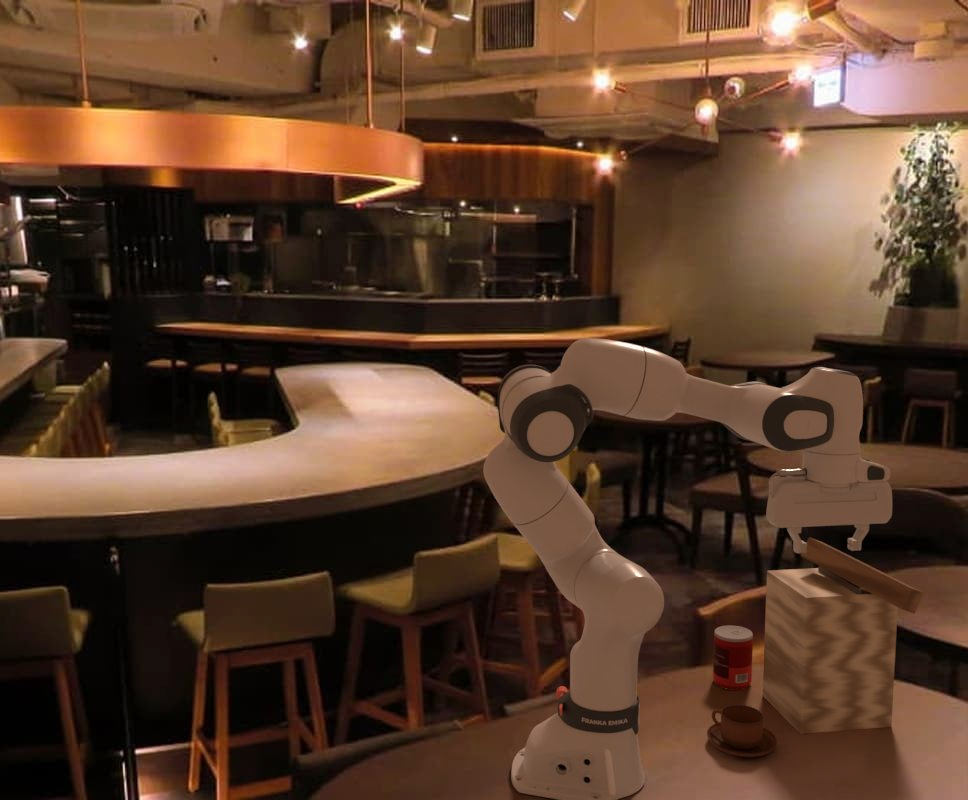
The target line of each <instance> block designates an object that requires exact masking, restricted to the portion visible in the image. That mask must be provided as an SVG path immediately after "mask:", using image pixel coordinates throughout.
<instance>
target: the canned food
mask: <svg viewBox="0 0 968 800" xmlns="http://www.w3.org/2000/svg"><path fill="white" fill-rule="evenodd" d="M753 639H754V634H753V632H752V630H751V629H749V628H747V627H743V626H741V625H730V624H729V625H728V624H727V625H721V626H717V627H716V628H715V629H714V633H713V661H712V662H713V663H712V671H713V672H712V677H713V679H712V680H713V682H714V684H715V685H716V684H717V686H718V687H719V686H720V688H722V687H723V688H722V689H725V688H727V689H726V690H729V689H733V690H732V691H738V690H739V691H740V689H742V690H745V689H747V688H749V687H750V686H751V683H752V673H753V649H754V648H753V647H754V646H753V645H754V641H753ZM749 685H750V686H749ZM748 686H749V687H748ZM744 688H745V689H744Z"/></svg>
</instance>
